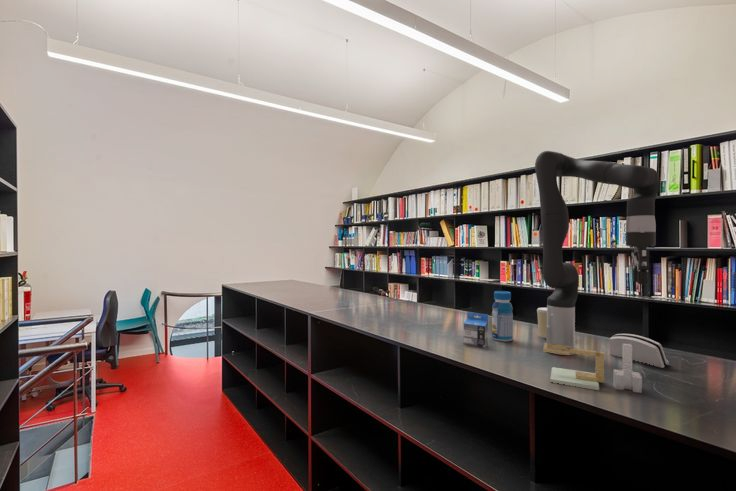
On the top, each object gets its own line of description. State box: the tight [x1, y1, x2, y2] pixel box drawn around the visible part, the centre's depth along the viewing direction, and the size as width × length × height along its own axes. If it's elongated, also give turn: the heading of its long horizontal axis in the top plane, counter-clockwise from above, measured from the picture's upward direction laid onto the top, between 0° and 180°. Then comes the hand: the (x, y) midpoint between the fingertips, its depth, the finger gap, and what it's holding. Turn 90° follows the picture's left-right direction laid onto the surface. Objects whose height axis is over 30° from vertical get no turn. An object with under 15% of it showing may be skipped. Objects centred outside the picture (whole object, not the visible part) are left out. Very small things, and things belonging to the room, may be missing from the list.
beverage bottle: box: [491, 290, 514, 342], centre depth 156 cm, size 8×8×20 cm
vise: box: [612, 344, 643, 394], centre depth 106 cm, size 6×11×12 cm, turn 152°
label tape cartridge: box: [463, 311, 489, 348], centre depth 148 cm, size 9×4×12 cm, turn 53°
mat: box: [549, 366, 600, 391], centre depth 109 cm, size 12×12×1 cm
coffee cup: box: [536, 307, 547, 339], centre depth 161 cm, size 9×9×12 cm
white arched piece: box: [608, 333, 670, 369], centre depth 128 cm, size 17×5×10 cm, turn 28°
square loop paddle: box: [542, 342, 605, 384], centre depth 110 cm, size 16×7×8 cm, turn 62°
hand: (640, 283), depth 115 cm, fingers open, 8 cm apart
